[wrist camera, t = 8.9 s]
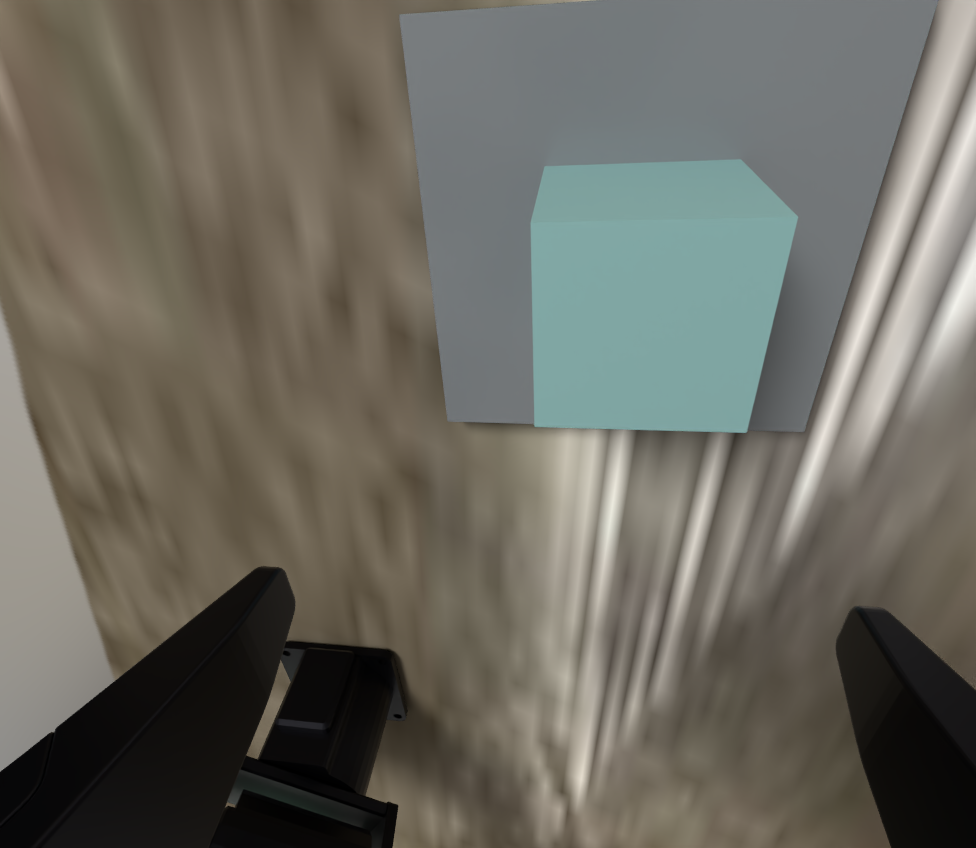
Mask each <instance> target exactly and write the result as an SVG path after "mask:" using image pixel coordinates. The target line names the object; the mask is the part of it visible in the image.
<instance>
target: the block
mask: <svg viewBox="0 0 976 848" xmlns="http://www.w3.org/2000/svg"><path fill="white" fill-rule="evenodd" d="M797 220H798V216H797V215H796V214H795V213H794V212H793V211H792V210H791V209H790V208H789V207H788V206H787V205H786V204H785V203H784V202H783V201H782V200H781V199H780V198H779V197H778V196H777V195H776V194H775V193H774V192H773V191H772V190H771V189H770V188H769V187H768V186H767V185H766V184H765V183H764V182H763V181H762V180H761V179H760V178H759V177H758V176H757V175H756V174H755V173H754V172H753V171H752V170H751V169H750V168H749V167H748V166H747V165H746V164H745V163H744V162H743V161H742V160H741V159H736V160H708V161H679V162H651V163H623V164H595V165H566V166H545V167H544V171H543V175H542V179H541V183H540V187H539V191H538V195H537V199H536V203H535V207H534V211H533V215H532V219H531V270H532V324H533V377H534V427H556V428H592V429H627V430H662V431H698V432H733V433H747V429H748V425H749V421H750V417H751V413H752V408H753V404H754V400H755V396H756V392H757V388H758V383H759V379H760V375H761V371H762V367H763V362H764V358H765V354H766V350H767V346H768V341H769V337H770V333H771V329H772V325H773V320H774V316H775V312H776V308H777V304H778V299H779V295H780V291H781V287H782V283H783V279H784V274H785V270H786V266H787V262H788V258H789V253H790V249H791V245H792V241H793V237H794V232H795V228H796V224H797Z"/></svg>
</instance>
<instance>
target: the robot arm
mask: <svg viewBox="0 0 976 848" xmlns="http://www.w3.org/2000/svg"><path fill="white" fill-rule="evenodd" d="M294 612H295V597H294V594H293V592H292V589H291V586H290V583H289V581H288V578H287V575H286V573H285V571H284V570H283V569H282V568H279V567H266V566H262V567H258V568H256V569H255V570H253V571H252V572H251V573H249V574H248V575H247V576H246V577H244V578H243V579H242V580H241V581H239V582H238V583H237V584H236V585H234V586H233V587H232V588H231V589H229V590H228V591H227V592H226V593H224V594H223V595H222V596H221V597H219V598H218V599H217V600H216V601H214V602H213V603H212V604H211V605H209V606H208V607H207V608H206V609H204V610H203V611H202V612H201V613H199V614H198V615H197V616H196V617H194V618H193V619H192V620H191V621H189V622H188V623H187V624H186V625H184V626H183V627H182V628H181V629H179V630H178V631H177V632H176V633H174V634H173V635H172V636H171V637H169V638H168V639H167V640H166V641H164V642H163V643H162V644H161V645H159V646H158V647H157V648H156V649H154V650H153V651H152V652H151V653H149V654H148V655H147V656H146V657H144V658H143V659H142V660H141V661H139V662H138V663H137V664H136V665H134V666H133V667H132V668H130V669H129V670H128V671H127V672H125V673H124V674H123V675H122V676H120V677H119V678H118V679H117V680H115V681H114V682H113V683H112V684H110V685H109V686H108V687H107V688H105V689H104V690H103V691H102V692H100V693H99V694H98V695H97V696H96V697H94V698H93V699H92V700H90V701H89V702H88V703H87V704H85V705H84V706H83V707H82V708H81V709H79V710H78V711H77V712H75V713H74V714H73V715H72V716H70V717H69V718H68V719H67V720H65V721H64V722H63V723H62V724H60V725H59V726H58V727H57V728H56V729H55V732H51V733H49V734H48V735H47V736H45V737H44V738H43V739H41V740H40V741H39V742H38V743H36V744H35V745H34V746H33V747H31V748H30V749H29V750H28V751H26V752H25V753H24V754H23V755H21V756H20V757H19V758H17V759H16V760H15V761H14V762H12V763H11V764H10V765H9V766H7V767H6V768H4V769H3V770H2V771H1V772H0V848H392V847H393V840H394V833H395V826H396V819H397V812H398V805H397V804H394V803H391V802H387V803H384V802H381V801H378V800H375V799H372V798H369V797H366V792H367V788H368V785H369V781H370V778H371V774H372V770H373V767H374V763H375V759H376V756H377V752H378V749H379V745H380V741H381V738H382V734H383V731H384V727H385V723H386V720H396V721H403V720H405V719H406V716H407V712H408V710H407V706H406V702H405V698H404V695H403V691H402V687H401V683H400V679H399V675H398V671H397V667H396V663H395V659H394V656H393V654H392V653H391V652H389V651H386V650H378V649H366V648H355V647H344V646H332V645H321V644H309V643H298V642H286V639H287V636H288V633H289V629H290V626H291V622H292V619H293V615H294ZM836 655H837V659H838V664H839V668H840V673H841V677H842V681H843V686H844V690H845V694H846V699H847V703H848V708H849V712H850V716H851V721H852V725H853V729H854V734H855V738H856V742H857V746H858V750H859V754H860V758H861V761H862V764H863V767H864V770H865V773H866V776H867V779H868V782H869V785H870V788H871V791H872V794H873V797H874V799H875V802H876V805H877V808H878V811H879V814H880V817H881V820H882V823H883V825H884V828H885V831H886V834H887V837H888V840H889V843H890V846H891V848H976V690H975V689H974V688H973V687H972V686H971V685H970V684H968V683H967V682H966V681H965V680H964V679H963V678H962V677H961V676H960V675H958V674H957V673H956V672H955V671H954V670H953V669H952V668H951V667H950V666H948V665H947V664H946V663H945V662H944V661H943V660H942V659H941V658H940V657H938V656H937V655H936V654H935V653H934V652H933V651H932V650H931V649H930V648H928V647H927V646H926V645H925V644H924V643H923V642H922V641H921V640H920V639H918V638H917V637H916V636H915V635H914V634H913V633H912V632H911V631H910V630H908V629H907V628H906V627H905V626H904V625H903V624H902V623H901V622H900V621H898V620H897V619H896V618H895V617H894V616H893V615H892V614H891V613H889V612H888V611H886V610H885V609H883V608H879V607H866V606H855V607H853V608H852V609H851V610H850V611H849V613H848V615H847V617H846V619H845V622H844V624H843V626H842V628H841V630H840V632H839V635H838V637H837V640H836ZM280 660H281V661H282V663H283V665H284V668H285V670H286V672H287V674H288V677H289V679H290V681H291V683H290V685H289V688H288V690H287V692H286V694H285V697H284V699H283V701H282V704H281V706H280V708H279V711H278V713H277V715H276V718H275V720H274V722H273V724H272V727H271V729H270V731H269V734H268V736H267V738H266V741H265V743H264V745H263V748H262V750H261V752H260V755H259V757H258V759H254V758H251V757H248V756H246V754H247V752H248V749H249V747H250V745H251V742H252V740H253V737H254V735H255V732H256V730H257V727H258V725H259V722H260V720H261V718H262V715H263V713H264V710H265V707H266V705H267V702H268V699H269V697H270V693H271V690H272V687H273V684H274V681H275V677H276V674H277V670H278V667H279V663H280ZM227 802H229V803H232V804H235V805H236V806H235V808H234V807H231V806H227V807H226V808H225V806H226V803H227Z"/></svg>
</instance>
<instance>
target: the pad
mask: <svg viewBox="0 0 976 848" xmlns="http://www.w3.org/2000/svg"><path fill="white" fill-rule="evenodd" d="M937 4H938V0H596V1H582V2H568V3H554V4H540V5H526V6H512V7H498V8H484V9H470V10H456V11H442V12H428V13H414V14H400V15H399V17H400V25H401V34H402V42H403V50H404V59H405V67H406V76H407V84H408V92H409V101H410V109H411V118H412V126H413V134H414V143H415V151H416V159H417V168H418V176H419V185H420V193H421V201H422V210H423V218H424V227H425V235H426V243H427V252H428V260H429V269H430V277H431V285H432V294H433V302H434V311H435V319H436V327H437V336H438V344H439V353H440V361H441V369H442V378H443V386H444V395H445V403H446V411H447V420H448V421H452V422H485V423H519V424H534V377H533V324H532V270H531V219H532V215H533V211H534V207H535V203H536V199H537V195H538V191H539V187H540V183H541V179H542V175H543V171H544V167H545V166H566V165H595V164H623V163H651V162H679V161H708V160H736V159H741V160H742V161H743V162H744V163H745V164H746V165H747V166H748V167H749V168H750V169H751V170H752V171H753V172H754V173H755V174H756V175H757V176H758V177H759V178H760V179H761V180H762V181H763V182H764V183H765V184H766V185H767V186H768V187H769V188H770V189H771V190H772V191H773V192H774V193H775V194H776V195H777V196H778V197H779V198H780V199H781V200H782V201H783V202H784V203H785V204H786V205H787V206H788V207H789V208H790V209H791V210H792V211H793V212H794V213H795V214H796V215H797V216H798V220H797V224H796V228H795V232H794V237H793V241H792V245H791V249H790V253H789V258H788V262H787V266H786V270H785V274H784V279H783V283H782V287H781V291H780V295H779V299H778V304H777V308H776V312H775V316H774V320H773V325H772V329H771V333H770V337H769V341H768V346H767V350H766V354H765V358H764V362H763V367H762V371H761V375H760V379H759V383H758V388H757V392H756V396H755V400H754V404H753V408H752V413H751V417H750V421H749V425H748V429H747V430H753V431H786V432H804V430H805V427H806V424H807V421H808V418H809V414H810V411H811V408H812V405H813V402H814V398H815V395H816V392H817V389H818V386H819V382H820V379H821V376H822V373H823V369H824V366H825V363H826V360H827V357H828V353H829V350H830V347H831V344H832V341H833V337H834V334H835V331H836V328H837V325H838V321H839V318H840V315H841V312H842V309H843V305H844V302H845V299H846V296H847V292H848V289H849V286H850V283H851V280H852V276H853V273H854V270H855V267H856V264H857V260H858V257H859V254H860V251H861V248H862V244H863V241H864V238H865V235H866V231H867V228H868V225H869V222H870V219H871V215H872V212H873V209H874V206H875V203H876V199H877V196H878V193H879V190H880V187H881V183H882V180H883V177H884V174H885V170H886V167H887V164H888V161H889V158H890V154H891V151H892V148H893V145H894V142H895V138H896V135H897V132H898V129H899V126H900V122H901V119H902V116H903V113H904V109H905V106H906V103H907V100H908V97H909V93H910V90H911V87H912V84H913V81H914V77H915V74H916V71H917V68H918V65H919V61H920V58H921V55H922V52H923V48H924V45H925V42H926V39H927V36H928V32H929V29H930V26H931V23H932V20H933V16H934V13H935V10H936V7H937Z"/></svg>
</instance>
